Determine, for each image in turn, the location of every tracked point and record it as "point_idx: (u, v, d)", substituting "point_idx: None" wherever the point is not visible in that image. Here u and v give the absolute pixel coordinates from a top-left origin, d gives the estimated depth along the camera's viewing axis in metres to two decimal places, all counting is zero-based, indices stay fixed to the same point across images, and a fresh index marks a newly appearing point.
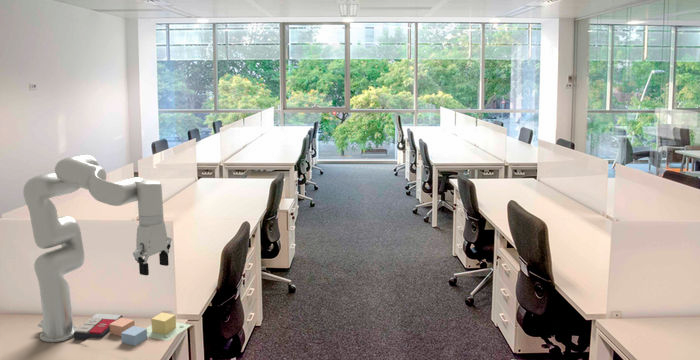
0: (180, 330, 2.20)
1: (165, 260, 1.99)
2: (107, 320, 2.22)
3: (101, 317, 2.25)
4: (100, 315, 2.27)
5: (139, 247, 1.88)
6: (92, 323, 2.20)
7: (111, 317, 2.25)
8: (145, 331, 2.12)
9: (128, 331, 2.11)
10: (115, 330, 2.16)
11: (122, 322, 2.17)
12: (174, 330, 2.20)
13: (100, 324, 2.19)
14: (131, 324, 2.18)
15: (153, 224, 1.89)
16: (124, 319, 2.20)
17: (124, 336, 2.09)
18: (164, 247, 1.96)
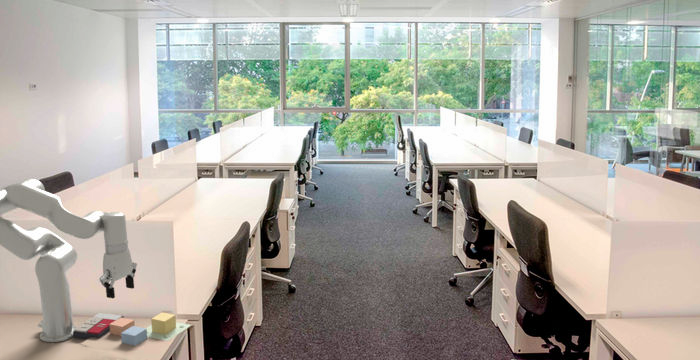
0: (180, 330, 2.20)
1: (131, 283, 2.19)
2: (107, 320, 2.22)
3: (102, 317, 2.25)
4: (102, 315, 2.27)
5: (105, 273, 2.08)
6: (92, 322, 2.21)
7: (112, 317, 2.25)
8: (145, 331, 2.12)
9: (128, 331, 2.11)
10: (115, 330, 2.16)
11: (122, 322, 2.17)
12: (174, 330, 2.20)
13: (99, 324, 2.19)
14: (131, 324, 2.18)
15: (118, 252, 2.09)
16: (124, 319, 2.20)
17: (124, 336, 2.09)
18: (129, 272, 2.16)
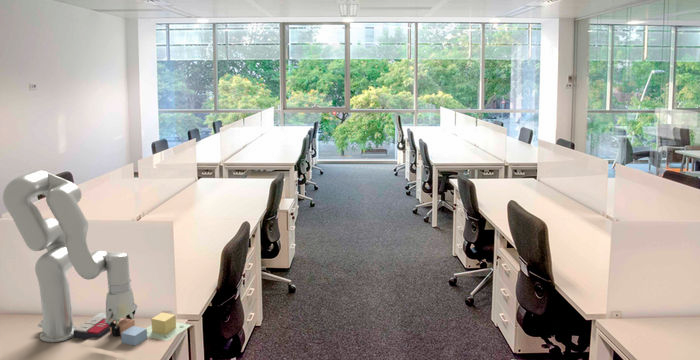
0: (180, 330, 2.20)
1: None
2: None
3: (103, 317, 2.25)
4: (103, 314, 2.27)
5: (109, 315, 2.12)
6: (92, 322, 2.21)
7: None
8: (145, 331, 2.12)
9: (128, 331, 2.11)
10: None
11: (122, 322, 2.17)
12: (174, 330, 2.20)
13: (100, 324, 2.19)
14: (131, 324, 2.18)
15: (120, 292, 2.12)
16: (124, 319, 2.20)
17: (124, 336, 2.09)
18: (131, 310, 2.19)
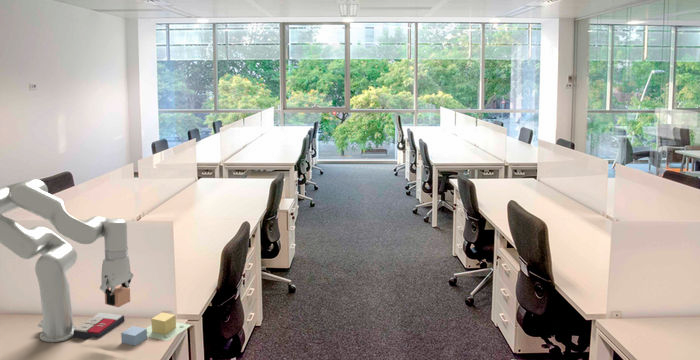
0: (180, 330, 2.20)
1: None
2: (108, 320, 2.22)
3: (103, 316, 2.26)
4: (102, 314, 2.27)
5: (104, 281, 2.09)
6: (92, 322, 2.21)
7: (112, 317, 2.25)
8: (145, 331, 2.12)
9: (128, 331, 2.11)
10: None
11: (117, 290, 2.15)
12: (174, 330, 2.20)
13: (100, 324, 2.20)
14: (127, 292, 2.16)
15: (117, 259, 2.10)
16: (120, 287, 2.18)
17: (124, 336, 2.09)
18: (127, 278, 2.17)
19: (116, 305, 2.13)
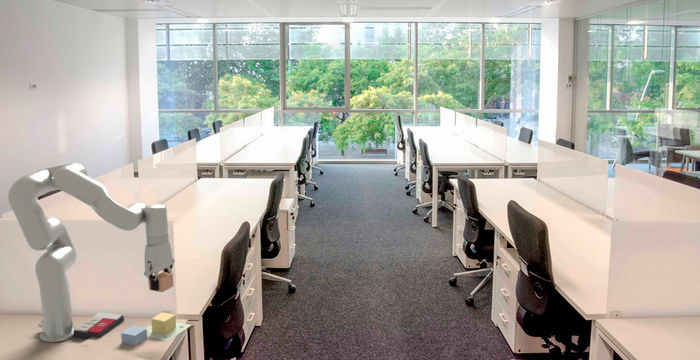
0: (180, 330, 2.20)
1: None
2: (107, 320, 2.23)
3: (102, 316, 2.26)
4: (102, 314, 2.27)
5: (148, 267, 2.10)
6: (92, 322, 2.21)
7: (112, 317, 2.25)
8: (145, 331, 2.12)
9: (128, 331, 2.11)
10: None
11: (160, 275, 2.16)
12: (174, 330, 2.20)
13: (100, 323, 2.20)
14: (170, 277, 2.17)
15: (159, 244, 2.10)
16: (162, 272, 2.18)
17: (124, 336, 2.09)
18: (169, 264, 2.17)
19: (160, 290, 2.14)
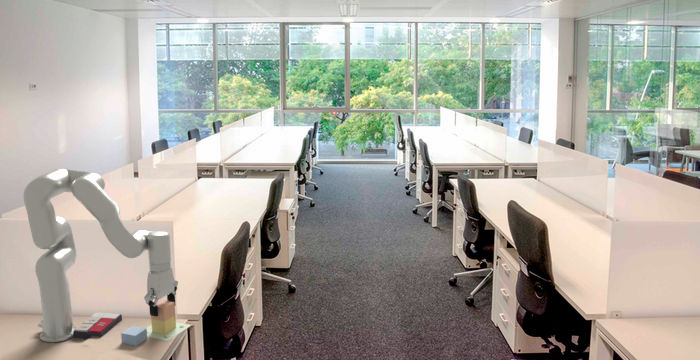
0: (180, 330, 2.20)
1: (172, 301, 2.22)
2: (106, 319, 2.23)
3: (100, 316, 2.26)
4: (99, 314, 2.27)
5: (149, 292, 2.11)
6: (91, 321, 2.21)
7: (110, 316, 2.26)
8: (145, 331, 2.12)
9: (128, 331, 2.11)
10: None
11: (162, 304, 2.18)
12: (174, 330, 2.20)
13: (99, 323, 2.20)
14: (172, 306, 2.19)
15: (162, 271, 2.12)
16: (164, 301, 2.21)
17: (124, 336, 2.09)
18: (171, 290, 2.19)
19: (162, 319, 2.16)
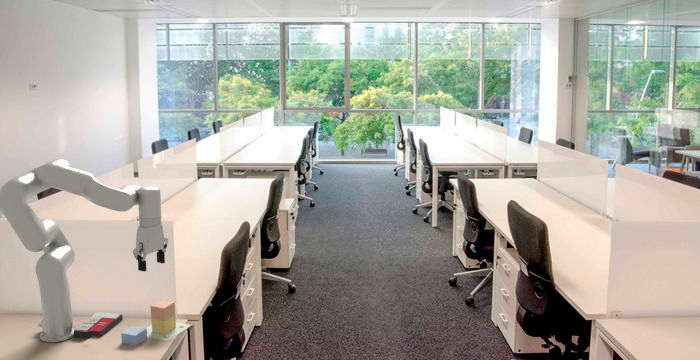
0: (180, 330, 2.20)
1: (162, 258, 2.21)
2: (107, 319, 2.23)
3: (101, 316, 2.26)
4: (100, 314, 2.28)
5: (138, 246, 2.10)
6: (92, 321, 2.21)
7: (111, 316, 2.26)
8: (145, 331, 2.12)
9: (128, 331, 2.11)
10: (156, 312, 2.16)
11: (162, 304, 2.18)
12: (174, 330, 2.20)
13: (100, 323, 2.20)
14: (172, 306, 2.19)
15: (151, 226, 2.11)
16: (164, 301, 2.21)
17: (124, 336, 2.09)
18: (161, 246, 2.18)
19: (162, 319, 2.16)
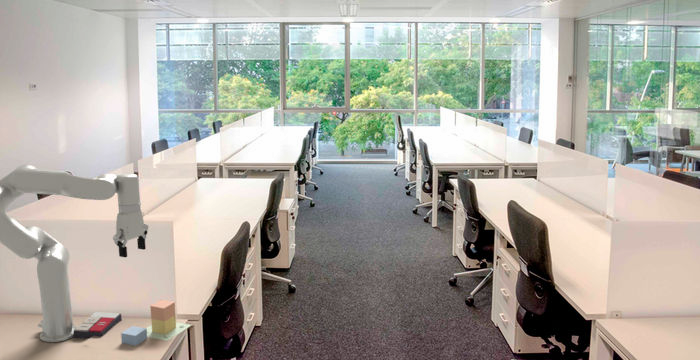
0: (180, 330, 2.20)
1: (142, 244, 2.25)
2: (106, 318, 2.24)
3: (100, 316, 2.26)
4: (98, 314, 2.28)
5: (118, 232, 2.14)
6: (91, 321, 2.22)
7: (110, 315, 2.26)
8: (145, 331, 2.13)
9: (128, 331, 2.11)
10: (156, 312, 2.16)
11: (162, 304, 2.18)
12: (174, 330, 2.20)
13: (99, 322, 2.21)
14: (172, 306, 2.19)
15: (131, 212, 2.15)
16: (164, 301, 2.21)
17: (124, 336, 2.09)
18: (141, 233, 2.22)
19: (162, 319, 2.16)
